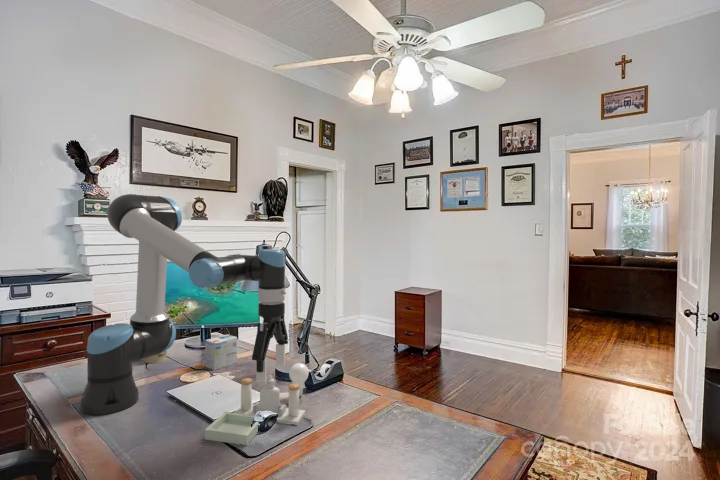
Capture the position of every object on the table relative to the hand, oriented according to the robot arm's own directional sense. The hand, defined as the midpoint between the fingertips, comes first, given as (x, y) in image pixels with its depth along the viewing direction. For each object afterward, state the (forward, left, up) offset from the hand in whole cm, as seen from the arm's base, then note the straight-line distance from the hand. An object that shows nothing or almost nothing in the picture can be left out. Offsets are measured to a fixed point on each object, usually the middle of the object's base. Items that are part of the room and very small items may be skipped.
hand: (271, 373), depth 115 cm
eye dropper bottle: (0, 0, -13) cm, 13 cm away
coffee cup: (-63, +31, -13) cm, 72 cm away
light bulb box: (-35, +33, -13) cm, 50 cm away
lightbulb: (+4, +14, -13) cm, 19 cm away
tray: (-5, -11, -13) cm, 17 cm away
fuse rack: (0, 0, -13) cm, 13 cm away
